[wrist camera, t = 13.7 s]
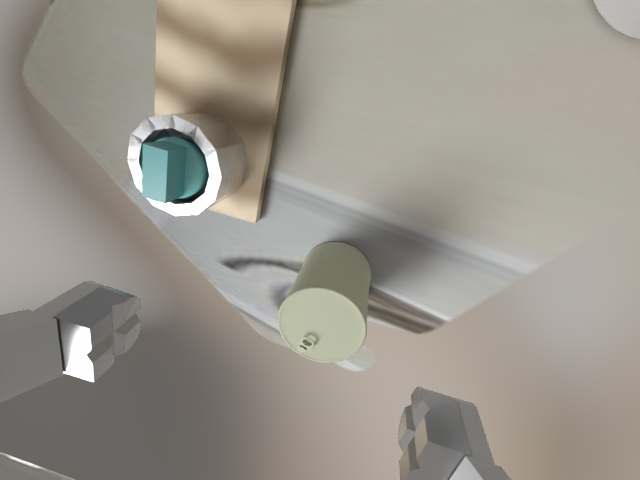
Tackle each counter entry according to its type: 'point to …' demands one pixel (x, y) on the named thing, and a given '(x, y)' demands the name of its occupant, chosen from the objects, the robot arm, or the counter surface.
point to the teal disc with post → (173, 169)
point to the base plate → (227, 76)
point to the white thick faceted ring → (216, 144)
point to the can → (328, 304)
